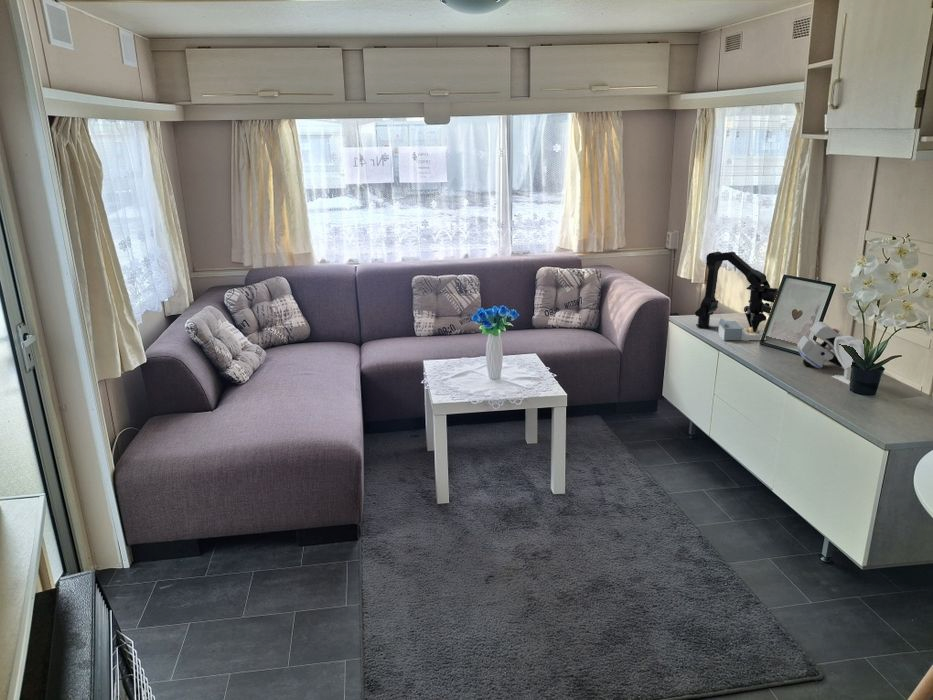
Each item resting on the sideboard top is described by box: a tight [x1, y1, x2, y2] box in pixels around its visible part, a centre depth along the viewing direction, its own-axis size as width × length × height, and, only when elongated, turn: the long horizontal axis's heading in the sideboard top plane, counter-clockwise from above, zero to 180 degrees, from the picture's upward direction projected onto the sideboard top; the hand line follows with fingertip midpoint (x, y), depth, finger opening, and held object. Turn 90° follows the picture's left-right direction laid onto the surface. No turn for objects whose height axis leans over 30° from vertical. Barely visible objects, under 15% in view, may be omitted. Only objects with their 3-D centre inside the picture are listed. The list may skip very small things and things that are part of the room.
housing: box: [717, 323, 764, 341], centre depth 352 cm, size 12×20×5 cm, turn 83°
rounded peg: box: [748, 326, 759, 333], centre depth 352 cm, size 4×4×5 cm
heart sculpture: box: [831, 335, 865, 386], centre depth 289 cm, size 16×5×18 cm, turn 12°
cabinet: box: [717, 317, 743, 341], centre depth 352 cm, size 14×8×8 cm, turn 173°
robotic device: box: [796, 321, 845, 370], centre depth 307 cm, size 10×21×20 cm
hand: (753, 330), depth 351 cm, fingers open, 6 cm apart
